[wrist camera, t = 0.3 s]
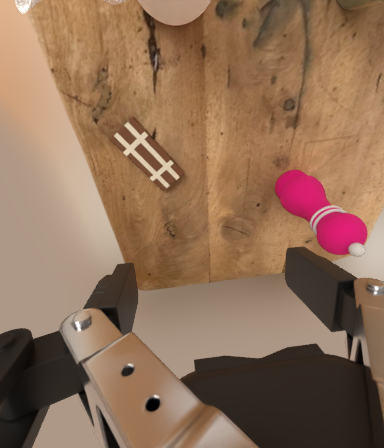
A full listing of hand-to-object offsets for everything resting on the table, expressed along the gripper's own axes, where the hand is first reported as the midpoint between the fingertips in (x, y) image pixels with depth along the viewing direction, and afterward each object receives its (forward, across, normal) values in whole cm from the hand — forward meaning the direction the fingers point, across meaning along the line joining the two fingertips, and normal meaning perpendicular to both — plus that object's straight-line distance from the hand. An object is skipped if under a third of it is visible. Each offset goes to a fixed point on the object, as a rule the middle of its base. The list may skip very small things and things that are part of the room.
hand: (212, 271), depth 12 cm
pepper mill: (+32, -22, 0) cm, 39 cm away
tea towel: (+30, +5, -7) cm, 32 cm away
